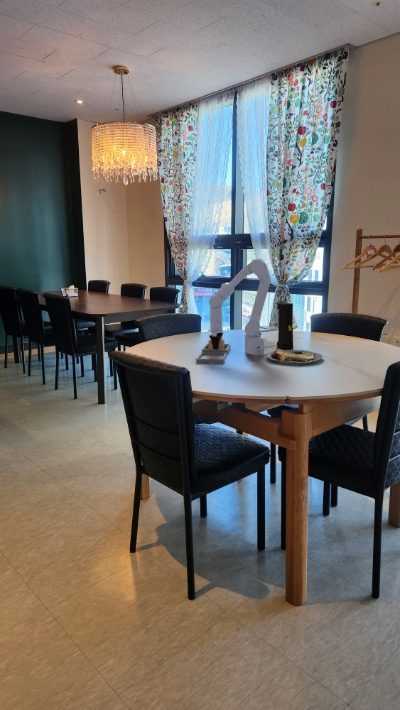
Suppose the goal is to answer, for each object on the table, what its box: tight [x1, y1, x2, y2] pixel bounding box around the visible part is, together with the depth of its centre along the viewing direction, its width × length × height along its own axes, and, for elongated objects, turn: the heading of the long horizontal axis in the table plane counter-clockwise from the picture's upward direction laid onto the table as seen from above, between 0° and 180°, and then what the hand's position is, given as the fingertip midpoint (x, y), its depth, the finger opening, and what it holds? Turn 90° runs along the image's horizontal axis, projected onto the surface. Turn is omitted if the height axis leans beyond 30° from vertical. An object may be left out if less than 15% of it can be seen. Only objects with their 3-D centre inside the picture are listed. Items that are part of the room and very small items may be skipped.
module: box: [207, 337, 225, 349], centre depth 228 cm, size 5×7×7 cm
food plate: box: [264, 348, 324, 365], centre depth 212 cm, size 25×23×4 cm
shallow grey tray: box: [195, 351, 228, 365], centre depth 214 cm, size 15×12×2 cm
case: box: [201, 343, 232, 356], centre depth 228 cm, size 14×12×3 cm
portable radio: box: [276, 297, 295, 350], centre depth 232 cm, size 8×6×25 cm
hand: (216, 348), depth 228 cm, fingers closed on module, 5 cm apart
